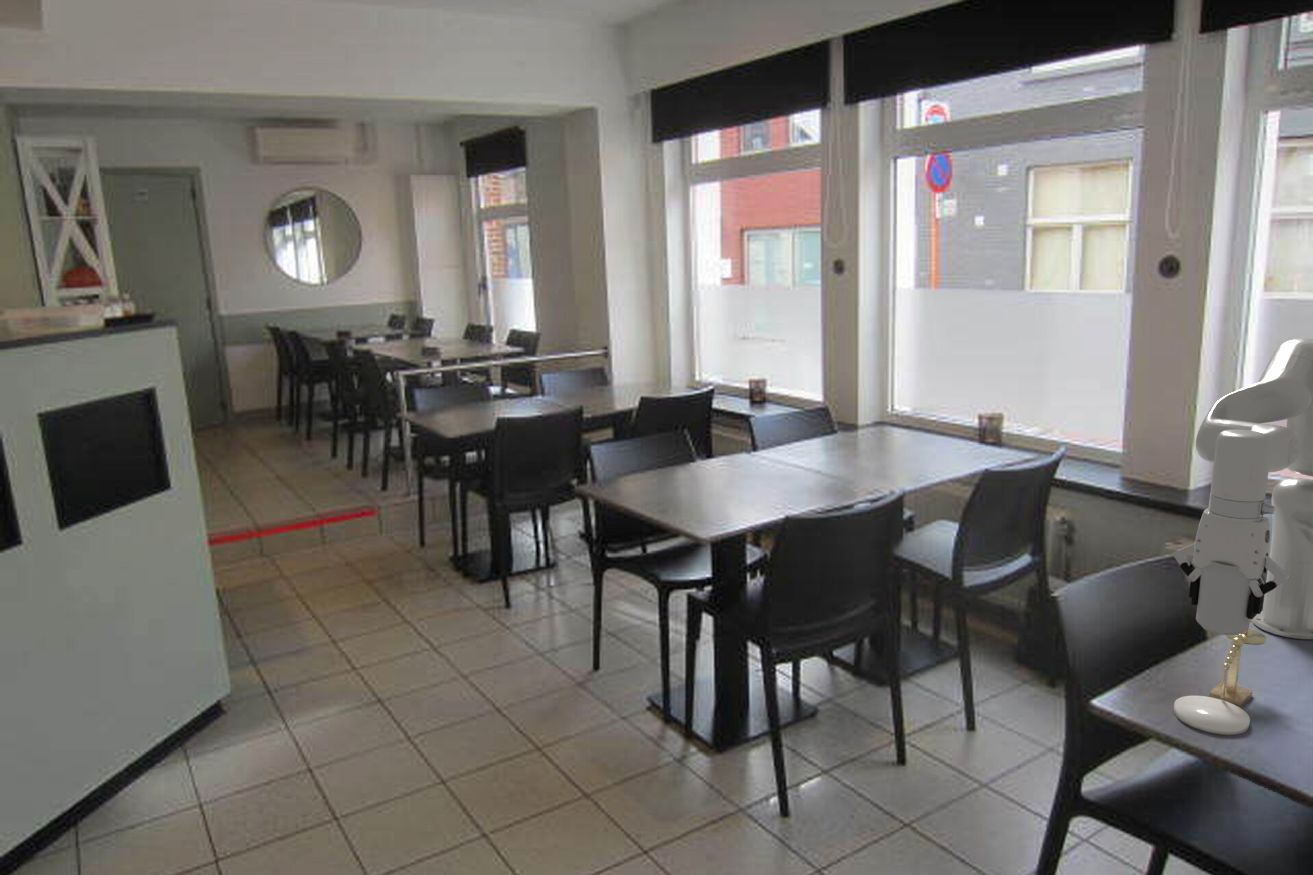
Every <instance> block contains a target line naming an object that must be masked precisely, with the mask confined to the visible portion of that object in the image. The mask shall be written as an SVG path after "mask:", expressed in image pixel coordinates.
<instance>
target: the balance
mask: <svg viewBox="0 0 1313 875" xmlns="http://www.w3.org/2000/svg"><path fill="white" fill-rule="evenodd" d="M1250 623H1252V619H1250V622H1249V624H1250ZM1225 636H1226V637H1227V638H1228V639H1230V644H1231V647H1230V651H1229V652H1228V653H1227V655H1228V657H1226V658H1225V663H1223V664H1222V669H1223V673H1222V674H1223V676H1222V681H1219V683H1218V684H1216V686H1214V687H1213V688H1212V689H1211V691H1210V692H1209V696H1208V697H1212V698H1216V699H1220V700H1223V701H1226V702H1229V703H1231V704H1233V705H1236V706H1237V707H1239V708H1242V707H1244V705H1245V704H1247V702H1248V701H1249V700H1250V698H1252V696H1253V690H1252V689H1249V688H1245V687H1241V686H1238V680H1239V679H1238V678H1239V670H1240V663H1241V654H1242V647H1243V646H1244V644H1245V645H1251V646H1259V645H1263V644H1266V641H1267V637H1266V635H1265V634H1264V633H1261V632H1260V631H1257V630H1254V629H1249V628H1248V630H1246V631H1244V632H1242V633H1241V634H1239V635H1225Z"/></svg>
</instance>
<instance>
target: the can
mask: <svg viewBox="0 0 1313 875" xmlns="http://www.w3.org/2000/svg"><path fill="white" fill-rule="evenodd" d="M1210 562H1211V565H1208V566H1205V567H1203V569H1202V572H1201V578H1200V587H1199V596H1198V604H1197V605H1196V606H1197V608H1196V615H1195V620H1196V622H1197V623H1198V624H1199V625H1200V626H1201V628H1203V629H1204V630H1206V631H1208V632H1211V633H1214V634H1219V635H1221V636H1226V635H1239V634H1241V633H1242V632H1244V631H1246V630H1248V629H1249V628H1250V623H1251V622H1250V619H1248V618H1247V611H1248V603H1249V596H1250V595H1251V594H1252V589H1251V587H1250V585H1249V584H1250V580H1248V579H1247V577H1246V576H1245V575H1244V574H1243V573H1241V572H1240V571H1239V568H1240V567H1238V566H1229V565H1223V564H1220V563H1217V562H1214V561H1210ZM1249 622H1250V623H1249Z"/></svg>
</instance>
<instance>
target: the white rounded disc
mask: <svg viewBox="0 0 1313 875" xmlns="http://www.w3.org/2000/svg"><path fill="white" fill-rule="evenodd" d="M1173 713H1174V715H1175V717H1176V718H1178V719H1179V720H1180V721H1181V722H1182V723H1184V724H1186V725H1188V726H1189V727H1191V728H1195V729H1197V730H1200V731H1203V732H1207V733H1211V734H1217V735H1223V736H1224V735H1225V736H1231V735H1233V736H1234V735H1240V734H1243V733H1245V732H1247V731H1248V730H1249V727H1250V722H1251V718H1250V716H1249V714H1248V713H1247V712H1246V711H1245V710H1244V709H1242V707H1238V706H1236V705H1233V704H1231V703H1229V702H1226V701H1223V700H1220V699H1216V698H1212V697H1209V696H1205V695H1204V696H1203V695H1185V696H1181V697H1179V698H1176V700H1174V704H1173Z"/></svg>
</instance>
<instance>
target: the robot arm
mask: <svg viewBox="0 0 1313 875" xmlns="http://www.w3.org/2000/svg"><path fill="white" fill-rule="evenodd" d="M1284 420H1286V427H1285V426H1281V425H1277V424H1276V425H1275V424H1270V423H1273V422H1279V421H1284ZM1195 438H1196V439H1195V449H1196V450H1195V451H1197V454H1198V456H1199V457H1200V458H1201V459H1203V460H1204V461H1206V462H1209V463H1213V466H1212V475H1211V484H1210V491H1209V492H1210V493H1209V500H1208V508H1205V509H1204V510H1203V512H1202V515H1201V516H1200V517H1201V518H1200V521H1199V524H1198V527H1197V532H1196V536H1195V540H1194V543H1192V544H1189V545H1187V546H1184V547H1183V548H1179V549H1177V550H1176V551H1175V552H1173V553H1172V555H1173V558H1174V559H1175V561H1177V563H1178V564H1179V567H1180V569H1181V570H1182V571H1183V573H1184V574H1185V575H1186V576H1187V579H1188V581H1189V592H1188V597H1189V598H1190V599H1191V603H1190V604H1191V605H1192V606H1197V605H1198V596H1199V587H1200V578H1201V572H1202V569H1203V567H1205V566H1208V565H1211V562H1210V561H1214V562H1217V563H1220V564H1223V565H1229V566H1238V567H1240V568H1239V571H1240V572H1241V573H1243V574H1244V575H1245V576H1246V577H1247V579H1248V580H1250V584H1249V585H1250V587H1251V589H1252V594H1251V595H1250V596H1249V603H1248V611H1247V618H1248V619H1251V622H1252V623H1253V624H1254V625H1255V626H1256V627H1257V628H1259V629H1261V630H1264V631H1265V632H1267V633H1271V634H1274V635H1276V636H1277V635H1278V636H1281V637H1285V638H1291V639H1297V640H1298V639H1299V640H1313V479H1311V478H1303V477H1292V478H1291V477H1289V478H1286V479H1282V480H1280V481H1279V482H1277V484H1275V486H1274V487H1273V490H1272V493H1271V505H1270V504H1268V502H1267V499H1266V496H1267V486H1268V479H1269V473H1274V472H1281V471H1284V470H1285V469H1288V471H1291V472H1292V473H1295V474H1299V475H1301V476H1308V477H1313V338H1294V339H1290V340H1287V341H1285V342H1283V343H1281V344H1280V345H1279V346H1278V347H1277V348H1276V349H1275V350H1274V352H1273V354H1272V356H1271V358H1270V360H1269V362H1268V364H1267V365H1266V366H1265V368H1264V371H1263V372H1262V374H1261V376H1260V378H1259V379H1258V382H1257V383H1252V384H1250V385H1247V386H1245V387H1242V388H1239V389H1237V390H1235V391H1233V392H1230V393H1228V394H1226V395H1224V396H1223V397H1221V398H1220V399H1218V400H1216V402H1214V403H1213V404H1212V406H1211V407H1210V409H1209V410H1208V412H1207V414H1206V416H1205V417H1204V419H1203V420H1202V422H1201V425H1200V427H1199V428H1198V431H1197V434H1196V437H1195ZM1265 515H1271V516H1272V517H1271V518H1272V532H1271V528H1270V519H1269V518H1268V517H1267V516H1265ZM1190 554H1192V561H1191V562H1192V563H1191V562H1190V561H1189V560H1188V557H1187V556H1188V555H1190ZM1262 575H1266V580H1265V582H1264V579H1263V578H1262Z"/></svg>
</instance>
